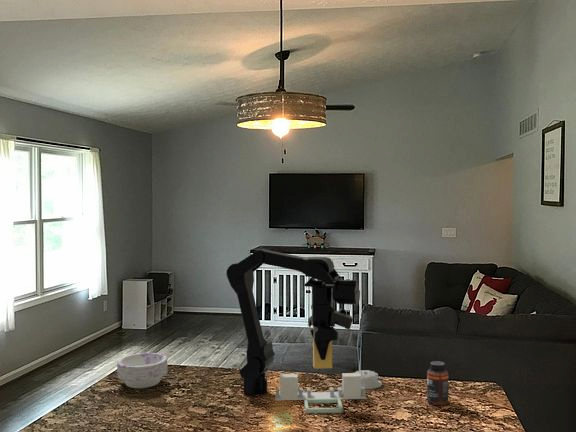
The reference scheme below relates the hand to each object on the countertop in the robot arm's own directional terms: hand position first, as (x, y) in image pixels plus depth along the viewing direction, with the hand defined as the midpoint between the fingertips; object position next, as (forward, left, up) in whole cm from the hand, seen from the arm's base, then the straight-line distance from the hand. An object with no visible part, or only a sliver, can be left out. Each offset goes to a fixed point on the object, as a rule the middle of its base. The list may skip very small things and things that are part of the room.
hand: (322, 358), depth 165 cm
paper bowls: (-54, +20, -13) cm, 59 cm away
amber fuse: (0, 0, -3) cm, 2 cm away
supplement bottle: (+33, 0, -13) cm, 35 cm away
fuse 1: (-9, +4, -12) cm, 16 cm away
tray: (0, -5, -13) cm, 14 cm away
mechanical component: (+15, +14, -14) cm, 25 cm away
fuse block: (0, +4, -13) cm, 14 cm away
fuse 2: (+9, +4, -12) cm, 16 cm away
